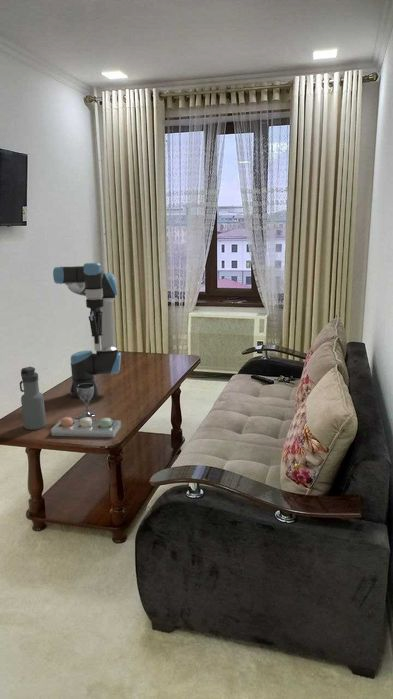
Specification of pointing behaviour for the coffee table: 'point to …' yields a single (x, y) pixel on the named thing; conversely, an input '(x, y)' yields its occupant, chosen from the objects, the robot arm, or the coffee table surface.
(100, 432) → the panel
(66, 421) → the brown egg
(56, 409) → the coffee table surface
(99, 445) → the coffee table surface
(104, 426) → the pale green rounded egg
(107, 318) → the robot arm
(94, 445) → the coffee table surface
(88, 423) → the white egg
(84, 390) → the wine glass
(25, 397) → the water bottle
